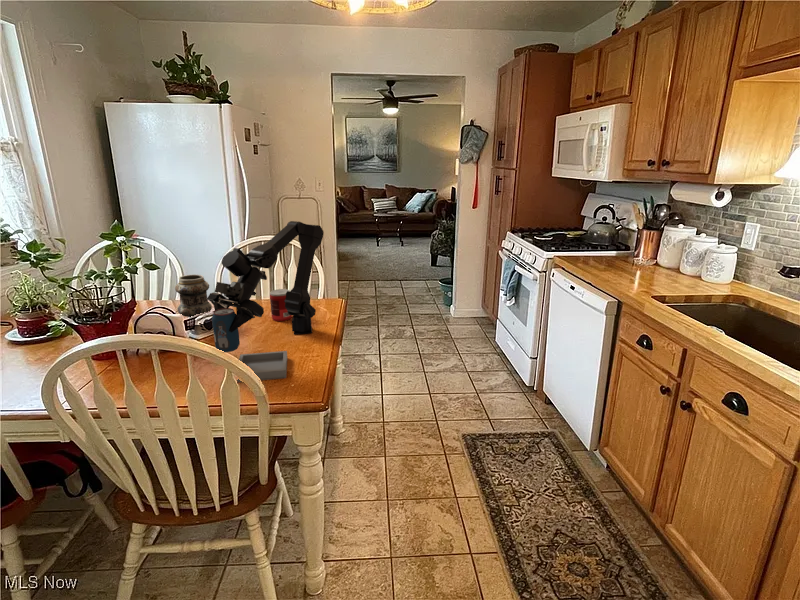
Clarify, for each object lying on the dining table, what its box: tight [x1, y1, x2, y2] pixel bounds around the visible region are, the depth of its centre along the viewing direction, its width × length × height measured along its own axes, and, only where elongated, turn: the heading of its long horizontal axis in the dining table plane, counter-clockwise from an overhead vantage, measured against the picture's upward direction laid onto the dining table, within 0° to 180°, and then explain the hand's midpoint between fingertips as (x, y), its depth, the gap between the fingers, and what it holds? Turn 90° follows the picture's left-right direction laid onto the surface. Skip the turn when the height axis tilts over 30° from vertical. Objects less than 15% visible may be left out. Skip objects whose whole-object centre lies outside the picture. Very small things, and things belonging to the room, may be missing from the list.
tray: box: [237, 350, 288, 383], centre depth 135 cm, size 14×14×2 cm
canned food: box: [269, 288, 293, 322], centre depth 178 cm, size 8×8×11 cm
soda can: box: [211, 307, 241, 353], centre depth 135 cm, size 7×7×12 cm
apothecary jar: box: [174, 274, 213, 318], centre depth 172 cm, size 12×12×18 cm
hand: (221, 329), depth 133 cm, fingers closed on soda can, 7 cm apart
